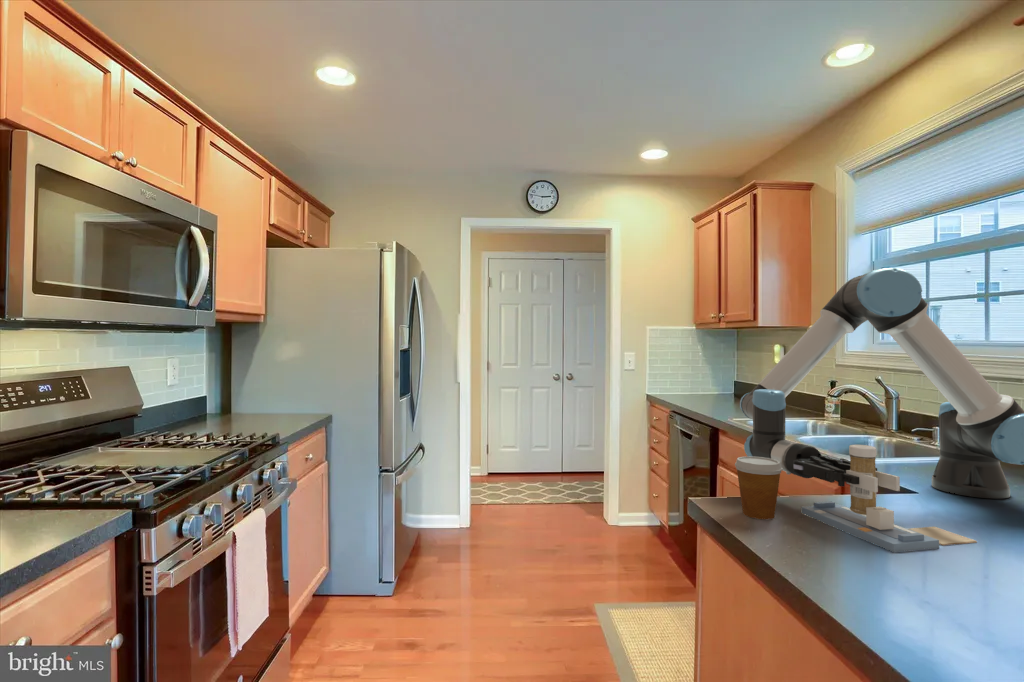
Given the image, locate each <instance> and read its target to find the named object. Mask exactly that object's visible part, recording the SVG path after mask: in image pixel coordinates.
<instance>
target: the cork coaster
mask: <svg viewBox="0 0 1024 682" xmlns="http://www.w3.org/2000/svg"><path fill="white" fill-rule="evenodd" d="M908 529H909V530H912V531H915V532H918V533H921V534H924V535H926V536H929V537H932V538H934V539H937V540H939V546H951V545H954V544H955V545H963V544H966V545H967V544H975V543H976V544H977V543H978V541H977V540H975V539H973V538H969V537H966V536H964V535H960V534H958V533H955V532H951V531H949V530H946V529H943V528H940V527H937V526H925V527H924V526H923V527H911V528H908Z"/></svg>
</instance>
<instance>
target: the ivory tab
mask: <svg viewBox="0 0 1024 682" xmlns="http://www.w3.org/2000/svg"><path fill="white" fill-rule="evenodd" d="M894 524H895V511H894V510H892V509H889V508H886V507H884V506H883V507H882V506H876V507H866V525H869V526H871V527H874V528H877V529H879V530H885V529H894Z"/></svg>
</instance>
